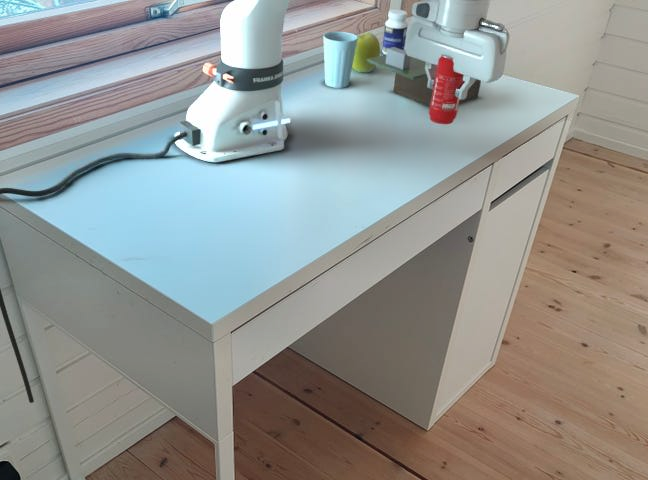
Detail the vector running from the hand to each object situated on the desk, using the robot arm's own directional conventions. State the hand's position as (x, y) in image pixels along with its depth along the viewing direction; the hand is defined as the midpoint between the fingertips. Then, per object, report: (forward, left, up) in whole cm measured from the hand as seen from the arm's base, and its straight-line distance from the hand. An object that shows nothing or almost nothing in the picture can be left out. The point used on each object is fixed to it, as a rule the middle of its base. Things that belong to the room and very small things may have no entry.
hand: (445, 93), depth 128 cm
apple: (+19, +41, -10) cm, 47 cm away
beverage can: (0, 0, -5) cm, 5 cm away
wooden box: (+21, +19, -10) cm, 30 cm away
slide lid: (+12, +19, -2) cm, 22 cm away
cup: (+7, +37, -10) cm, 39 cm away
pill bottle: (+35, +46, -10) cm, 59 cm away
